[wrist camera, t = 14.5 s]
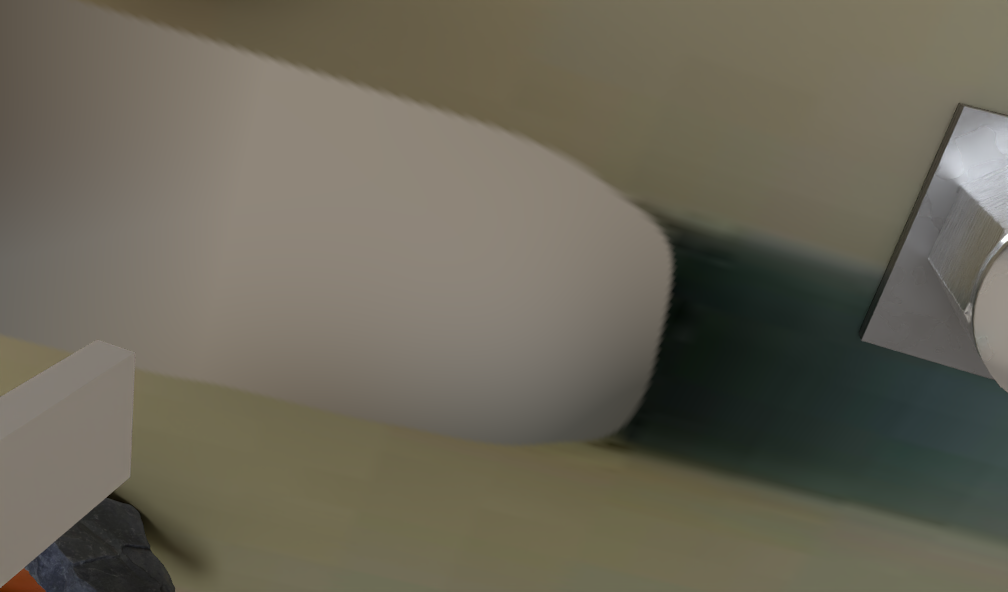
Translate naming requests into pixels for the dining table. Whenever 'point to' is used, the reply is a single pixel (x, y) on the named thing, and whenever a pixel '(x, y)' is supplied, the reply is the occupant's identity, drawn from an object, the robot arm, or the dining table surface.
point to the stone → (102, 555)
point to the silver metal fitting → (979, 267)
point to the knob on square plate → (910, 276)
